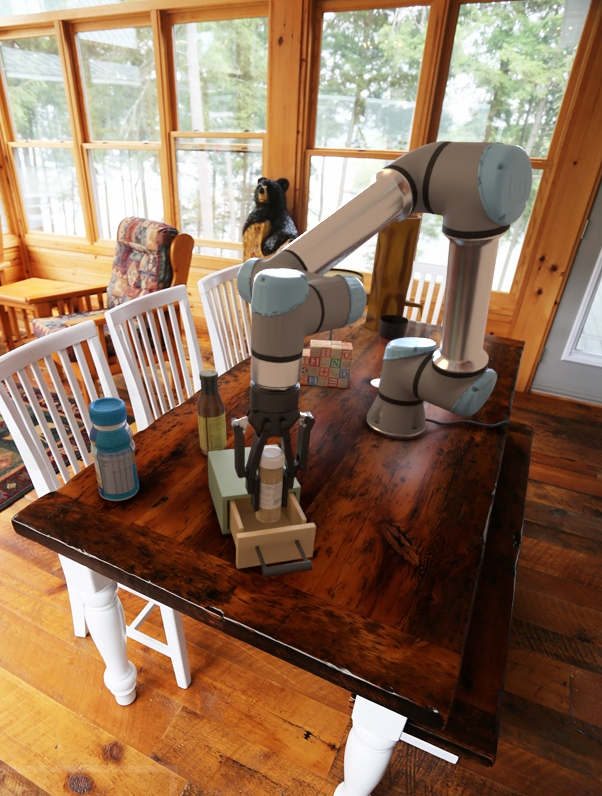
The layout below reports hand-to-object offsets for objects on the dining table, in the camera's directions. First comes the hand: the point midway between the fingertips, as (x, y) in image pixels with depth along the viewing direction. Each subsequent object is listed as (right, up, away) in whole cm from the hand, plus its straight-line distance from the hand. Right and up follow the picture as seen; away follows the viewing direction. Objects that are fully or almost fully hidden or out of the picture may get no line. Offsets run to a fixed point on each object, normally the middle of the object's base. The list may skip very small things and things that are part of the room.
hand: (268, 504), depth 88 cm
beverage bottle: (-31, +1, +18) cm, 36 cm away
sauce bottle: (-13, +10, +32) cm, 36 cm away
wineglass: (+36, +32, +68) cm, 84 cm away
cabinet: (-3, -1, +15) cm, 15 cm away
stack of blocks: (+14, +32, +68) cm, 77 cm away
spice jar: (0, -2, +2) cm, 3 cm away
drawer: (0, -8, +3) cm, 9 cm away
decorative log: (+47, +63, +117) cm, 140 cm away
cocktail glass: (+23, +49, +95) cm, 109 cm away
